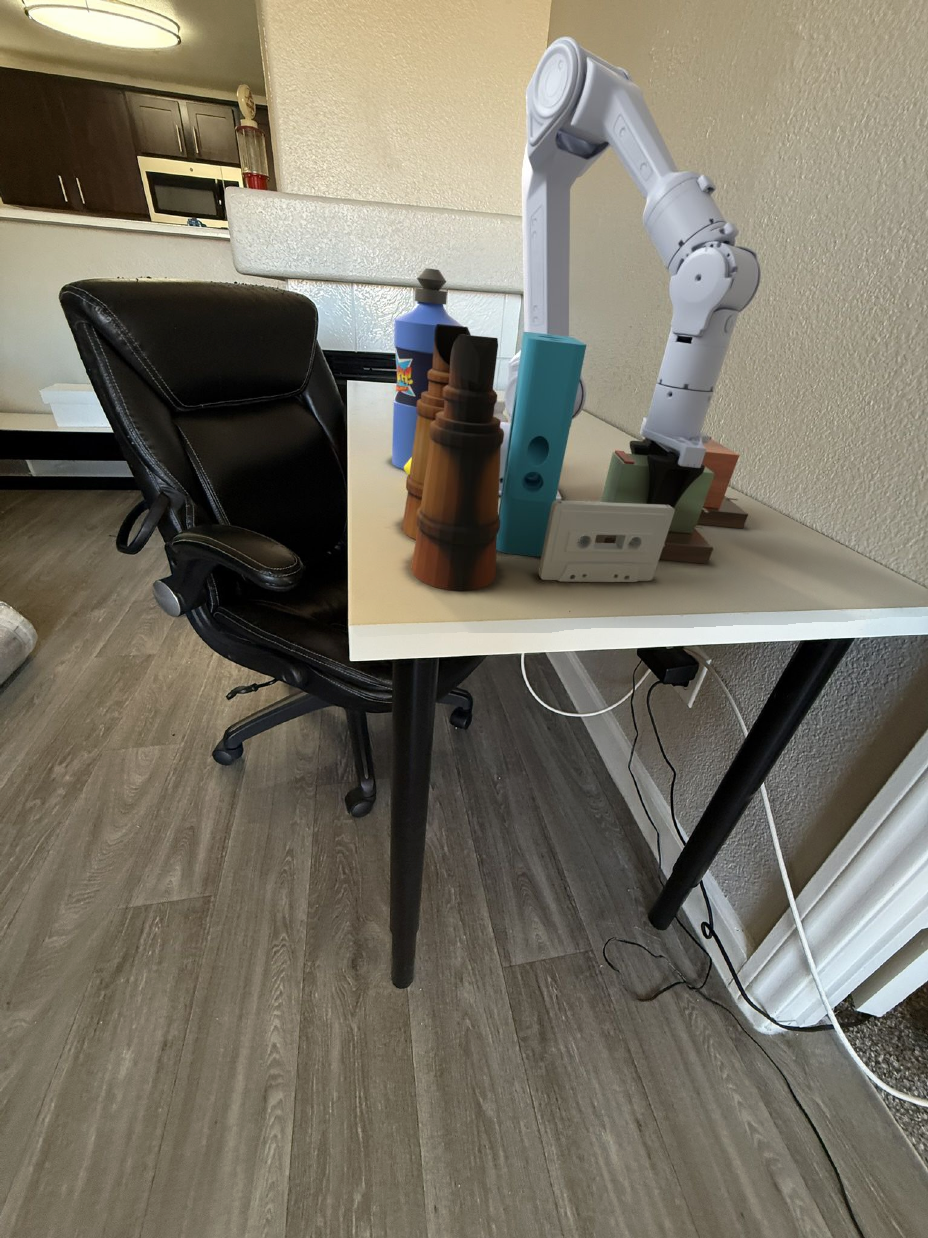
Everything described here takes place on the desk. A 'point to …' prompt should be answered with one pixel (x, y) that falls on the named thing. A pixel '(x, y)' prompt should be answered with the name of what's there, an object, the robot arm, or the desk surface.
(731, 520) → the back stand
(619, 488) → the green box
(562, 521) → the cassette
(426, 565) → the binoculars
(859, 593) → the desk surface
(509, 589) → the desk surface
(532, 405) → the block
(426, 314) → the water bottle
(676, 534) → the front stand
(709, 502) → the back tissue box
